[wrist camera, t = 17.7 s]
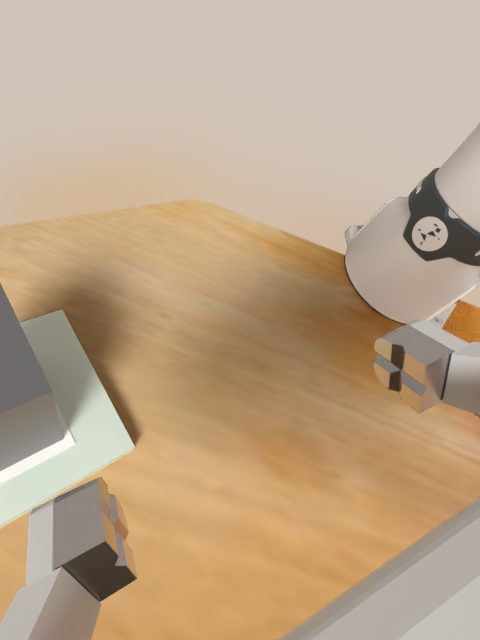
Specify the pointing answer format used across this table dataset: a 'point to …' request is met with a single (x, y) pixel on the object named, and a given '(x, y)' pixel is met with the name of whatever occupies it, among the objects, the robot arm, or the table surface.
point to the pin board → (64, 422)
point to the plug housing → (22, 394)
